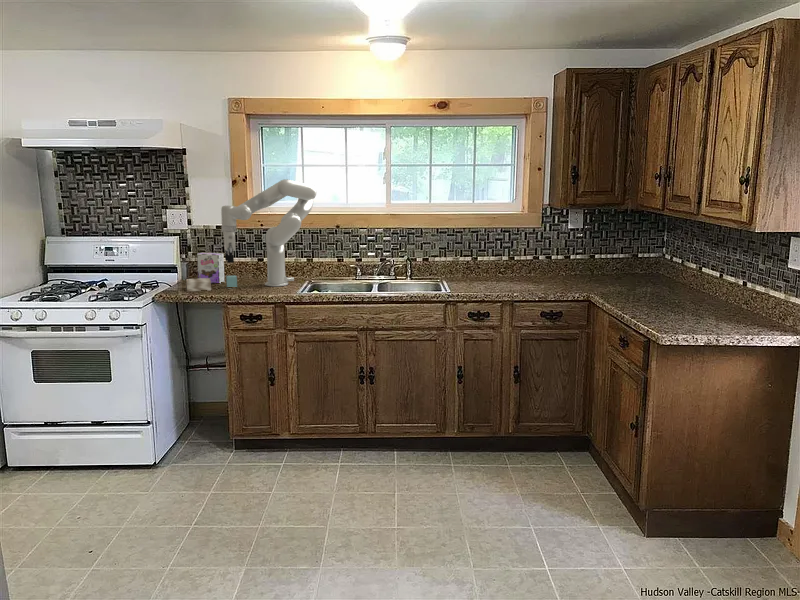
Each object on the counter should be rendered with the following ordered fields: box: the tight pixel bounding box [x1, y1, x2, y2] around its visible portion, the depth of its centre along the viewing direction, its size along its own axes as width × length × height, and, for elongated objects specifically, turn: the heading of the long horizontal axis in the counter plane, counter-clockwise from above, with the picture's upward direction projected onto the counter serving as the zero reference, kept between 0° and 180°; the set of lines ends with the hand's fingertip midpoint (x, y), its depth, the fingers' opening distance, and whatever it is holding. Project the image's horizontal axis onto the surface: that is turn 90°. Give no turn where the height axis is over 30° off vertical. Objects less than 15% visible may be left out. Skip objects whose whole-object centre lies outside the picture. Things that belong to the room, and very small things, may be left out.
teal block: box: [225, 275, 238, 288], centre depth 349 cm, size 5×5×6 cm
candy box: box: [196, 252, 226, 284], centre depth 364 cm, size 14×6×16 cm, turn 73°
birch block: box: [186, 278, 212, 292], centre depth 344 cm, size 12×12×5 cm
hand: (229, 261), depth 347 cm, fingers open, 9 cm apart
